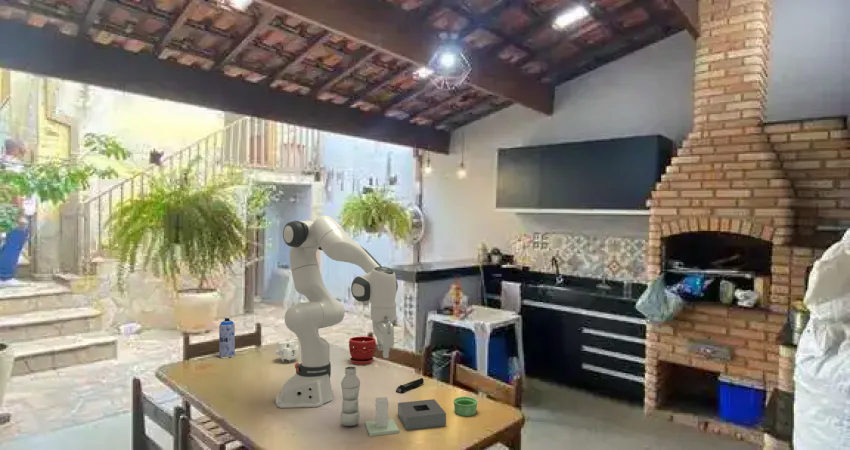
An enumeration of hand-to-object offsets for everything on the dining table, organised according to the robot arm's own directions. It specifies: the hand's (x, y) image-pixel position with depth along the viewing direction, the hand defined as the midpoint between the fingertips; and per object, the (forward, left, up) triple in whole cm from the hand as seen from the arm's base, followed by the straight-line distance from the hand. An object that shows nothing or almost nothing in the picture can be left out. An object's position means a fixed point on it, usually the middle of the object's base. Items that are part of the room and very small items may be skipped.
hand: (383, 353), depth 175 cm
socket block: (+14, +1, -25) cm, 29 cm away
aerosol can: (-61, +107, -26) cm, 125 cm away
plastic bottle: (-11, +4, -25) cm, 28 cm away
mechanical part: (-31, +90, -26) cm, 98 cm away
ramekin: (+32, +4, -26) cm, 41 cm away
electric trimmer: (+19, +34, -26) cm, 47 cm away
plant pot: (+5, +78, -26) cm, 82 cm away
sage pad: (-1, -2, -25) cm, 25 cm away
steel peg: (-1, -2, -24) cm, 24 cm away
